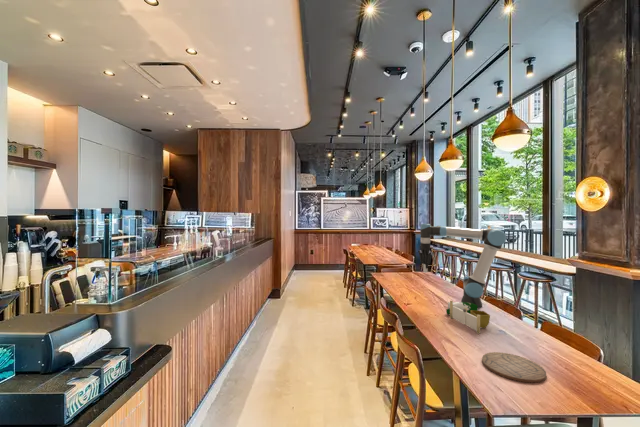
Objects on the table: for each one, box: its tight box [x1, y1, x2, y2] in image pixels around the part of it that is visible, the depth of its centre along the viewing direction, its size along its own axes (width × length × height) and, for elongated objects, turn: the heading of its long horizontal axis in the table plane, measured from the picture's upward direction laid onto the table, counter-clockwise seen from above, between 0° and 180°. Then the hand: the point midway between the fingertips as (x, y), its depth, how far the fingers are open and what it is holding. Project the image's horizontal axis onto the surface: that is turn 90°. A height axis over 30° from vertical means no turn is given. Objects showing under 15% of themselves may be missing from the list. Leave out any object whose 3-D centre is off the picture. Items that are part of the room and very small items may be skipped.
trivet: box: [481, 351, 547, 384], centre depth 135 cm, size 25×25×2 cm
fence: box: [449, 300, 481, 335], centre depth 189 cm, size 28×3×12 cm, turn 10°
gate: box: [453, 306, 467, 326], centre depth 194 cm, size 13×2×10 cm, turn 10°
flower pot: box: [470, 310, 491, 329], centre depth 187 cm, size 9×9×9 cm
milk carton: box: [445, 301, 479, 316], centre depth 209 cm, size 9×9×20 cm
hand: (425, 272), depth 232 cm, fingers closed
